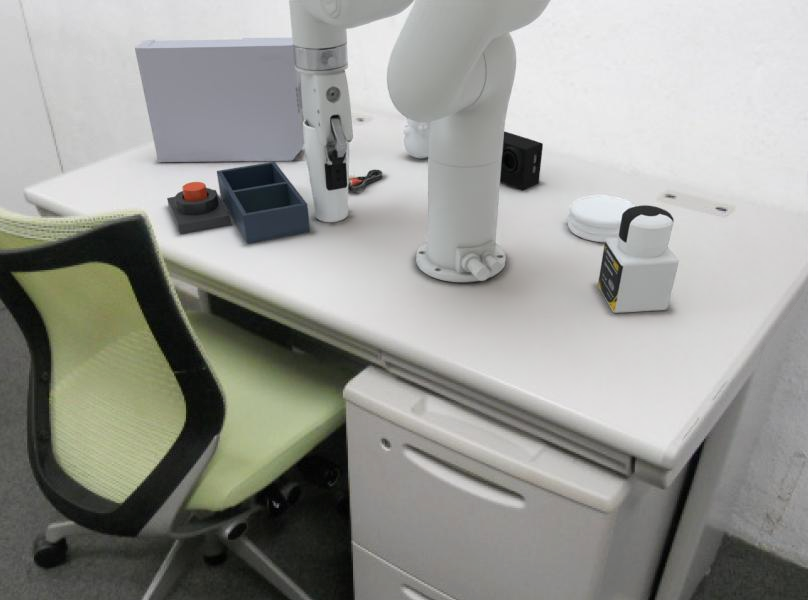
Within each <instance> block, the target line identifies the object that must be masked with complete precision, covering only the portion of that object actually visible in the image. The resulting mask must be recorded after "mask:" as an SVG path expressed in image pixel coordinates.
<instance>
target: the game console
mask: <svg viewBox="0 0 808 600" xmlns="http://www.w3.org/2000/svg"><path fill="white" fill-rule="evenodd" d="M134 51H135V56H136V60H137V65H138V71H139V75H140V81H141V86H142V91H143V94H144V99H145V105H146V109H147V110H146V111H147V115H148V118H149V124H150V128H151V133H152V134H151V135H152V138H153V139H152V140H153V143H154V149H155V153H156V158H157V162H158V163H192V162H193V163H194V162H195V163H197V162H199V163H202V162H203V163H205V162H211V163H212V162H285V161H286V162H287V161H289V162H293V161H294V159H295V158H296V157H297V155H299V153H300V152H301V151H302V149H304V138H303V121H304V117H303V108H302V94H301V72H298V71H296V70H295V63H294V52H293V40H292V36H291V37H243V38H241V39H239V38H238V39H236V38H235V39H232V38H231V39H189V40H185V39H184V40H183V39H181V40H156V39H146V40H143V41H141V42H139V44H137V45H136V46H135V47H134Z"/></svg>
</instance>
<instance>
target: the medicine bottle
mask: <svg viewBox="0 0 808 600" xmlns="http://www.w3.org/2000/svg"><path fill="white" fill-rule="evenodd" d="M674 220H675V219H674V217H673V215H672V214H671V213H670V212H669V211H668V210H665V209H663V208H661V207H658V206H654V205H646V204H645V205H644V204H643V205H635V207H631V208H629V209H627V210H626V211H625V212H624V213H623V214H622V219H621V224H620V230H619V235H618V238H607V239H606V240H605V242H604V246H603V252H602V258H601V262H600V263H601V264H600V269H599V275H598V282H597V287H598V289H599V290H600V292H601V294H602V296H603V297H604V299H605V301H606V303H607V304H608V306H609V307H610V310H611V311H612V312H613V313H614V314H620V313H623V314H624V313H639V312H655V311H667V310H668V308H669V305H670V300H671V297H672V292H673V288H674V283H675V281H676V275H677V271H678V268H679V259H678V258H677V257H676V256H675V254H674V253H673V252H672V250H671V249H670V248H669V244H670V239H671V234H672V229H673V226H674V223H675V222H674Z"/></svg>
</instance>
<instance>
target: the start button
mask: <svg viewBox="0 0 808 600" xmlns="http://www.w3.org/2000/svg"><path fill="white" fill-rule="evenodd" d="M206 185H207V184H206V183H204V182H202V181H191V182H187V183H185V184H183V185H182V187H181V189H182V191H183V194H184V199H185V200H187V201H199V200H203V199H205V198H207V191H206V188H207V186H206Z"/></svg>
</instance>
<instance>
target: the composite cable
mask: <svg viewBox="0 0 808 600" xmlns="http://www.w3.org/2000/svg"><path fill="white" fill-rule="evenodd" d="M382 178H383V171H382V170H380V169H371V170H368V172H367V174H366V175H365V176H361V175H360V176H358V175H355V174H349V180H348V189H351V192H352V193H357V192H360V191H361V190H363V189H364V188H365V187H366V185H368V184H369V183H372V182H374V181H378V180H380V179H382Z"/></svg>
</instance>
